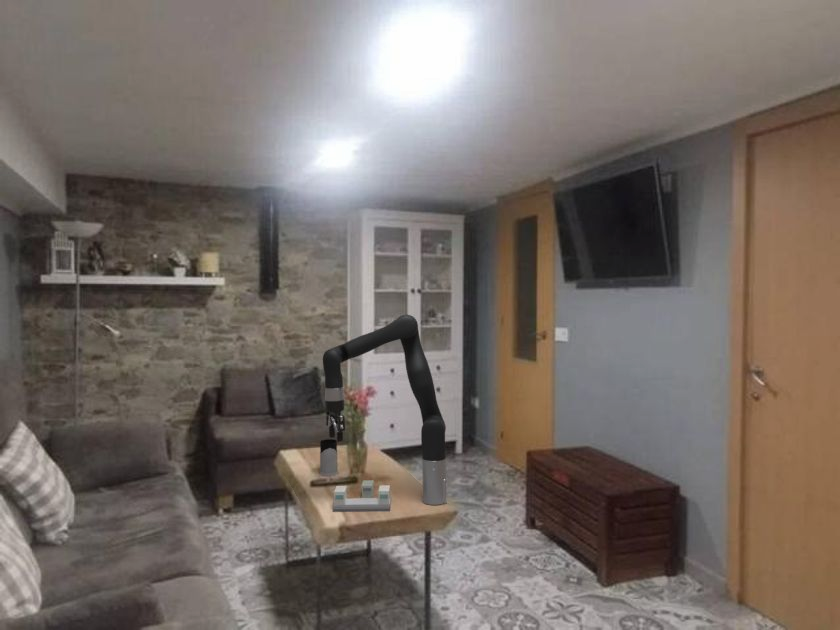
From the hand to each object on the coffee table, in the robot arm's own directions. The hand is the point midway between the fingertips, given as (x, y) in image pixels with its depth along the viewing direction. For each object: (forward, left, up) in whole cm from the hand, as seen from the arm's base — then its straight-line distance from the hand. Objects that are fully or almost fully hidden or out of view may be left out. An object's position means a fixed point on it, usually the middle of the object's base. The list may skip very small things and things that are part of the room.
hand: (336, 439), depth 237 cm
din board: (-11, +6, -25) cm, 28 cm away
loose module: (-12, -7, -25) cm, 28 cm away
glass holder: (+9, -40, -25) cm, 48 cm away
